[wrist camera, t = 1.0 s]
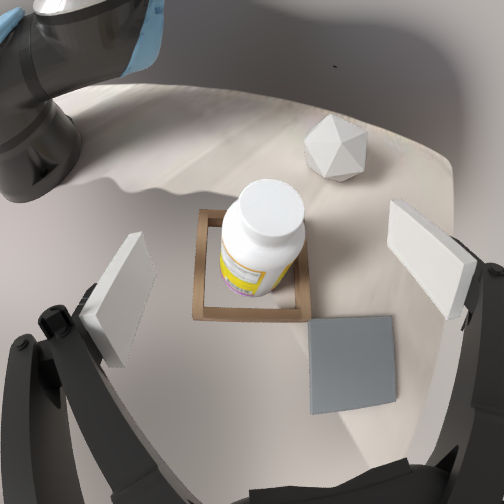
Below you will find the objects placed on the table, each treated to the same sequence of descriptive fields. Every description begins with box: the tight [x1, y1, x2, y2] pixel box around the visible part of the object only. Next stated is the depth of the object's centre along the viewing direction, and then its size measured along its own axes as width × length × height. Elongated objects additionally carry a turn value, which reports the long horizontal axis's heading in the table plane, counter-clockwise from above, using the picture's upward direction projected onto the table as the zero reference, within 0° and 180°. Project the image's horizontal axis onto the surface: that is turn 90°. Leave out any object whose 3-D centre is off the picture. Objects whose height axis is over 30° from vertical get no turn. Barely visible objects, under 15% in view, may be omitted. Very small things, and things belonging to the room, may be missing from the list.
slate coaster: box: [308, 316, 396, 415], centre depth 29 cm, size 10×10×1 cm
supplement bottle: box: [220, 179, 305, 297], centre depth 26 cm, size 7×7×13 cm
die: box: [303, 113, 368, 182], centre depth 36 cm, size 8×9×10 cm
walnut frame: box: [192, 209, 311, 322], centre depth 31 cm, size 12×12×2 cm
